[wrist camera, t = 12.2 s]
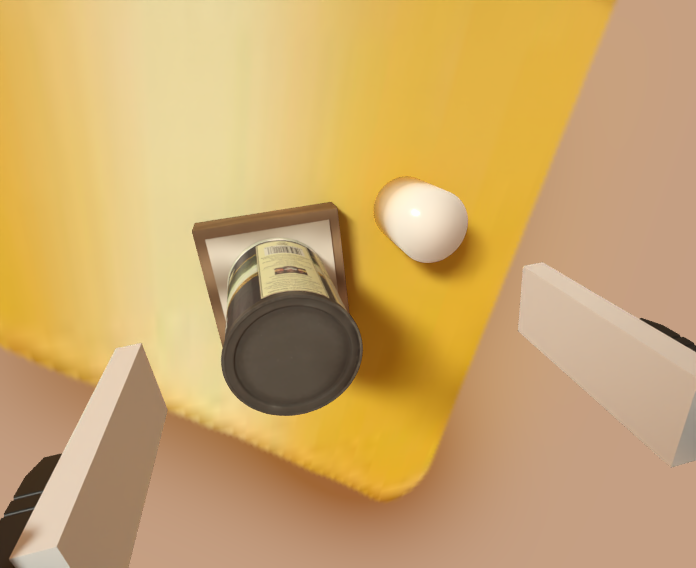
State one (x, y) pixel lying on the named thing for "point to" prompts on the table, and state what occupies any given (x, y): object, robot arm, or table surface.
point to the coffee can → (287, 331)
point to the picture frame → (243, 231)
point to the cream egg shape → (421, 218)
